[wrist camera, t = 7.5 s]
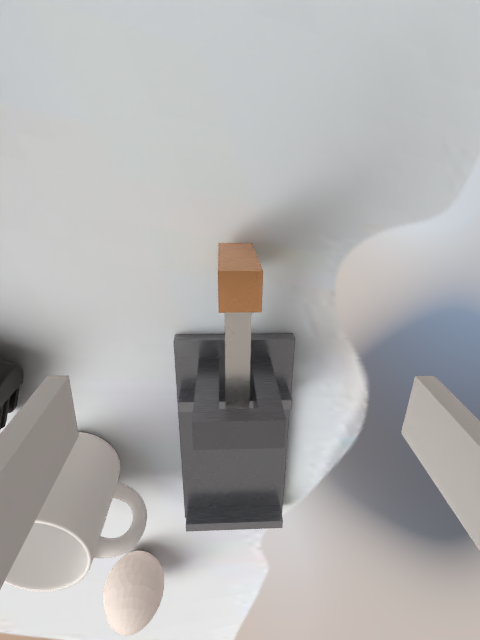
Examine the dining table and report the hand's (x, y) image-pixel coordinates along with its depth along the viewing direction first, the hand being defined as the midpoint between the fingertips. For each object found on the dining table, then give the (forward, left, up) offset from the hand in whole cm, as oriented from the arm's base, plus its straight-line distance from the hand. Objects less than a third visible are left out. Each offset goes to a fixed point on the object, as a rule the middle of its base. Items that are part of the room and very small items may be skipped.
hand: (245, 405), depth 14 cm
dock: (+16, 0, -19) cm, 25 cm away
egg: (+35, -11, -19) cm, 41 cm away
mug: (+21, -14, -19) cm, 31 cm away
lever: (+5, 0, -17) cm, 18 cm away
